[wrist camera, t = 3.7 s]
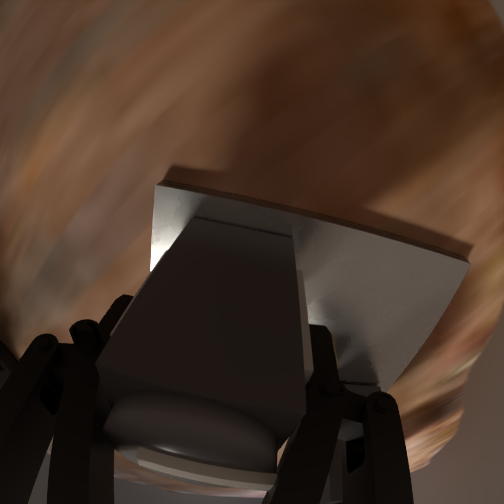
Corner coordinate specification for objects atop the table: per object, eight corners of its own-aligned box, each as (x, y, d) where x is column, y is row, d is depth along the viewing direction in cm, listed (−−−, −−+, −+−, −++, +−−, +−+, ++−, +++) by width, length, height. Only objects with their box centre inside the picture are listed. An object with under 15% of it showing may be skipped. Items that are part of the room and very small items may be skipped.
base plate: (158, 388, 25) (155, 396, 24) (162, 180, 15) (155, 184, 14) (352, 419, 25) (353, 427, 24) (464, 256, 16) (471, 263, 15)
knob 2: (299, 414, 23) (299, 529, 13) (322, 381, 20) (331, 520, 10) (352, 418, 23) (364, 524, 13) (380, 386, 20) (404, 508, 10)
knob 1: (184, 298, 17) (115, 470, 7) (191, 217, 15) (71, 404, 5) (270, 316, 18) (257, 503, 7) (293, 238, 15) (308, 461, 5)
